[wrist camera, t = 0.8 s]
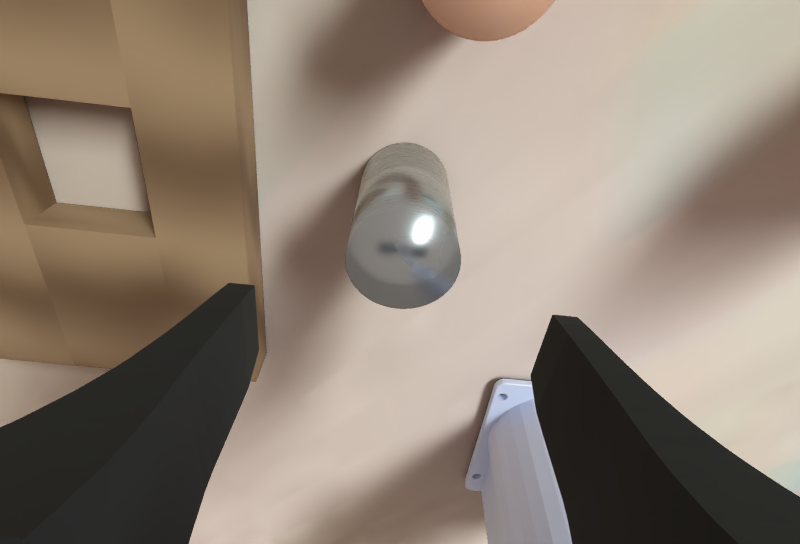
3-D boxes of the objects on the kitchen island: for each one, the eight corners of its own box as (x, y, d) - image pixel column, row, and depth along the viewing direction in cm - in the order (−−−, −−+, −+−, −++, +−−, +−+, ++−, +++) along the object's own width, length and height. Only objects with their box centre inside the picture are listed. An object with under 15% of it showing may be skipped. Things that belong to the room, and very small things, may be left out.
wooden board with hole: (266, 353, 25) (256, 381, 23) (26, 330, 24) (-2, 358, 22) (237, -161, 14) (214, -179, 12) (-201, -224, 13) (-290, -251, 12)
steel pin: (440, 227, 21) (450, 313, 15) (358, 218, 20) (342, 302, 15) (454, 148, 19) (471, 216, 14) (364, 137, 18) (348, 203, 13)
